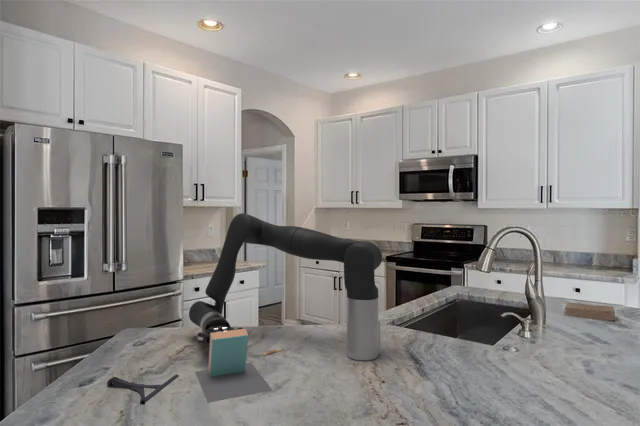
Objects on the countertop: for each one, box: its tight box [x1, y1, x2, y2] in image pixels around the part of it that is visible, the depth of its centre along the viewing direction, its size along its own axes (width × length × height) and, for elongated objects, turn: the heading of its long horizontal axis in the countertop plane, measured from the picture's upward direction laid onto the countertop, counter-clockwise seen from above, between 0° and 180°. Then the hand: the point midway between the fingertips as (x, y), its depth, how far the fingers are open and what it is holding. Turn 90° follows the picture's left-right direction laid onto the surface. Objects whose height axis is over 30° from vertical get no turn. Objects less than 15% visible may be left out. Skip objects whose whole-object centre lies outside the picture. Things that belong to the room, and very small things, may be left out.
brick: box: [564, 302, 616, 321], centre depth 168 cm, size 17×8×5 cm, turn 57°
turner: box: [261, 347, 284, 357], centre depth 123 cm, size 13×3×1 cm, turn 134°
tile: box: [207, 328, 249, 377], centre depth 109 cm, size 9×3×11 cm, turn 114°
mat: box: [195, 362, 273, 403], centre depth 105 cm, size 15×19×1 cm
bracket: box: [106, 373, 180, 405], centre depth 102 cm, size 14×15×3 cm
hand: (227, 344), depth 110 cm, fingers closed
